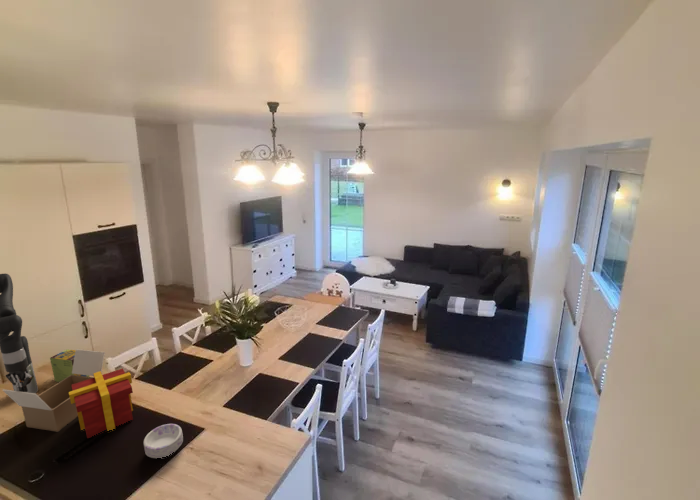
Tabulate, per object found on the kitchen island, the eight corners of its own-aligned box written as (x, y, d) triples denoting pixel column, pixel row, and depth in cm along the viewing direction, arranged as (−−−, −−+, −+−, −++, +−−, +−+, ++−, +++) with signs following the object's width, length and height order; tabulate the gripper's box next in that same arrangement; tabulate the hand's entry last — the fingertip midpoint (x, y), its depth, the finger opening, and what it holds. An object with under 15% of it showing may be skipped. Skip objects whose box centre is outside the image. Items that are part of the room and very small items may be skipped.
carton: (26, 426, 176) (21, 405, 173) (75, 394, 201) (71, 374, 198) (57, 431, 173) (52, 409, 170) (103, 397, 198) (99, 378, 195)
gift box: (79, 445, 164) (71, 406, 160) (74, 417, 183) (66, 381, 178) (141, 420, 180) (135, 384, 176) (130, 396, 199) (125, 363, 194)
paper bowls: (145, 469, 152) (142, 453, 150) (146, 445, 165) (143, 430, 163) (185, 456, 159) (183, 440, 157) (182, 433, 172) (180, 419, 170)
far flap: (75, 349, 200) (76, 349, 201) (71, 373, 198) (72, 373, 199) (103, 352, 197) (104, 352, 198) (100, 376, 195) (100, 376, 196)
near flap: (20, 404, 173) (19, 405, 172) (3, 389, 165) (2, 390, 165) (51, 409, 170) (51, 410, 169) (36, 393, 162) (35, 394, 162)
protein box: (76, 384, 210) (71, 360, 206) (54, 381, 213) (49, 357, 209) (92, 374, 220) (87, 351, 216) (71, 371, 223) (66, 348, 219)
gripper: (-7, 362, 159) (3, 396, 163) (18, 364, 156) (27, 399, 161) (11, 353, 166) (20, 386, 170) (35, 355, 164) (44, 389, 168)
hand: (24, 392), depth 166 cm, fingers closed
